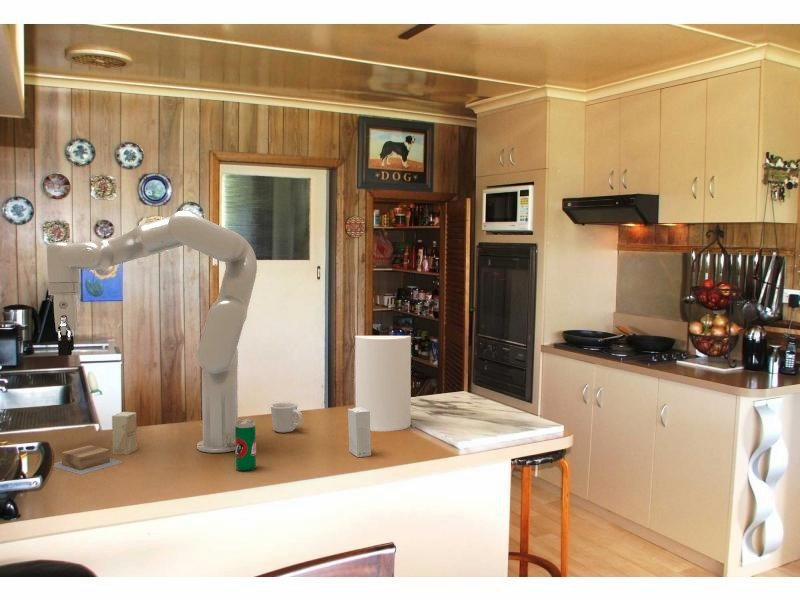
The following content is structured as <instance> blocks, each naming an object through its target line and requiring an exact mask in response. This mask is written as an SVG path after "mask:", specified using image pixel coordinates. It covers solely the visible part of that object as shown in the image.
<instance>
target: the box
mask: <svg viewBox="0 0 800 600" xmlns="http://www.w3.org/2000/svg"><path fill="white" fill-rule="evenodd" d="M111 425H112V426H111V428H112V429H111V430H112V433H111V435H112V437H111V439H112V455H124V456H127V455H129V454H131V453H133V452H136V451H137V449H138V442H137V441H138V439H137V438H138V435H137V433H138V432H137V431H138V430H137V412H134V411H133V412H132V411H122V412H118V413H115V414H113V415H112V416H111Z"/></svg>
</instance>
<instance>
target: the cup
mask: <svg viewBox="0 0 800 600" xmlns="http://www.w3.org/2000/svg"><path fill="white" fill-rule="evenodd" d="M270 412H271V420H272V428H273V430H274V431H275V432H276V433H281V434H282V433H290V432H293V431H294V430H295V429H296V427H298V426H301V424H302V423H303V413H302V412H301V411H300V410H298V403H296V402H291V401H290V402H289V401H281V402H275V403H272V404H271V405H270ZM297 416H298V421H297Z"/></svg>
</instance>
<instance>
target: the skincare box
mask: <svg viewBox="0 0 800 600" xmlns="http://www.w3.org/2000/svg"><path fill="white" fill-rule="evenodd" d="M347 420H348V421H347V422H348V423H347V425H348V429H347V430H348V447H349V449H348V450H349V453H350V454H352V455H353V456H355V457H356V458H364V457H370V456H371V455H372V441H371V440H372V439H371V436H372V435H371V431H370V411H368V410H366V409H364V408H362V407H357V408H356V407H352V408H351V407H350V408H347Z"/></svg>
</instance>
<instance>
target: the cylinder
mask: <svg viewBox="0 0 800 600" xmlns="http://www.w3.org/2000/svg"><path fill="white" fill-rule="evenodd" d="M354 346H355V350H354V351H355V353H354V354H355V355H354V357H355V365H354V366H355V370H354V372H355V379H354V380H355V382H354V383H355V408H357V407H362V408H364V409H366V410H368V411H370V432H371V431H372V432H395V431H402V430H405V429H408V428H409V427H411V420H412V417H411V416H412V414H411V413H412V411H411V406H412V404H411V403H412V402H411V401H412V398H411V397H412V396H411V393H412V392H411V389H412V388H411V387H412V386H411V384H412V381H411V380H412V379H411V378H412V376H411V375H412V370H411V369H412V365H411V364H412V359H411V358H412V351H411V350H412V347H411V346H412V336H411V335H355V344H354Z"/></svg>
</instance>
